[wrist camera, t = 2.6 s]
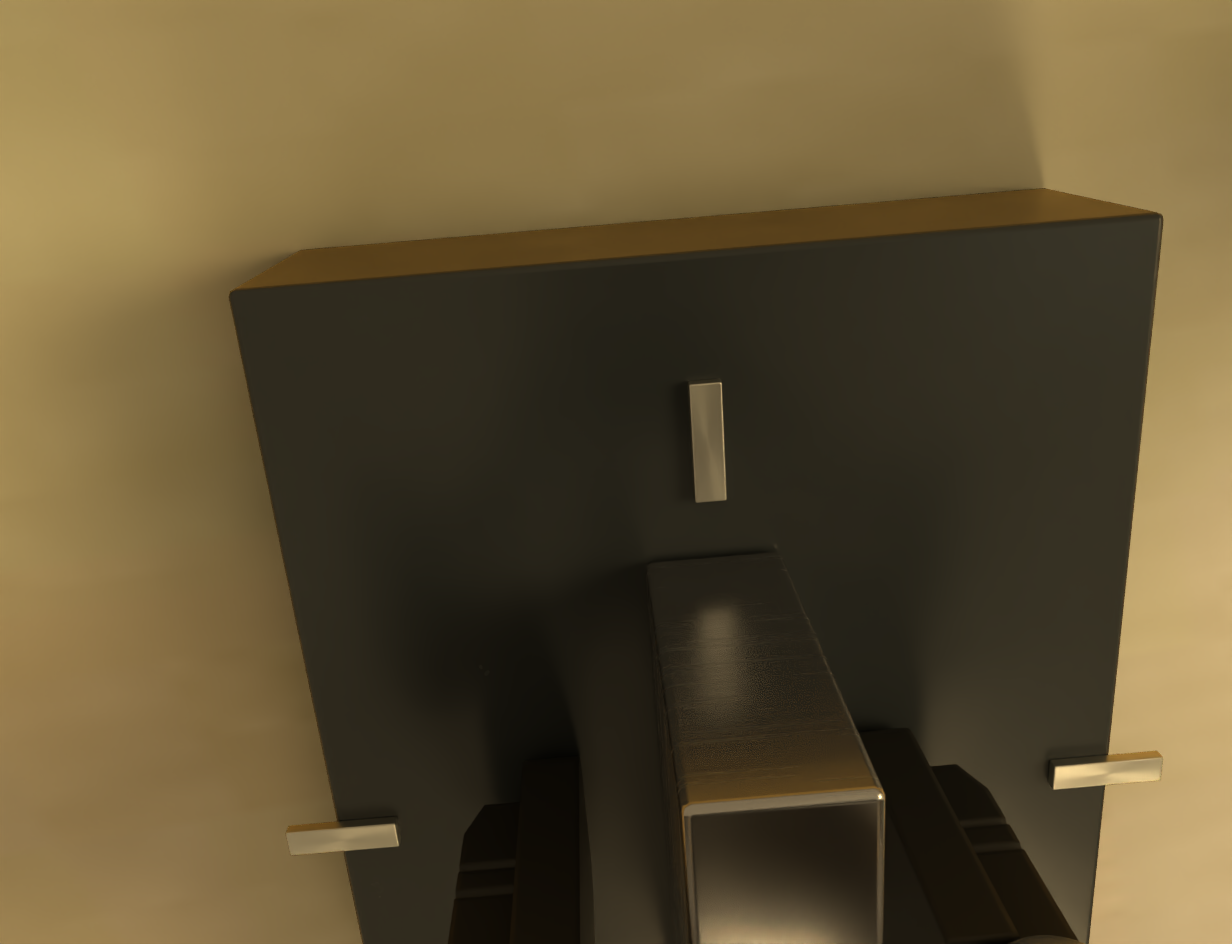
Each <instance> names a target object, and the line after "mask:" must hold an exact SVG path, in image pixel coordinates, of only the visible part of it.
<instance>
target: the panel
mask: <svg viewBox="0 0 1232 944" xmlns="http://www.w3.org/2000/svg"><path fill="white" fill-rule="evenodd" d="M1162 229H1163V216H1162V215H1161V214H1160V213H1157V212H1153V211H1148V210H1143V209H1139V208H1134V207H1129V206H1125V205H1120V204H1115V203H1111V202H1106V201H1101V200H1097V199H1092V198H1087V197H1083V196H1078V195H1073V194H1069V193H1064V192H1059V191H1055V190H1050V189H1045V188H1041V189H1029V190H1017V191H1005V192H993V193H981V194H969V195H957V196H945V197H933V198H921V199H909V200H897V201H885V202H873V203H861V204H849V205H837V206H825V207H812V208H800V209H788V210H776V211H764V212H752V213H740V214H728V215H716V216H704V217H692V218H680V219H668V220H656V221H644V222H632V223H620V224H608V225H596V226H584V227H571V228H559V229H547V230H535V231H523V232H511V233H499V234H487V235H475V236H463V237H451V238H439V239H427V240H415V241H403V242H391V243H379V244H367V245H355V246H343V247H330V248H318V249H306V250H300V251H298V252H297V253H295V254H293V255H291V256H290V257H288V258H286V259H285V260H283V261H281V262H279V263H278V264H276V265H274V266H273V267H271V268H269V269H268V270H266V271H264V272H262V273H261V274H259V275H257V276H256V277H254V278H252V279H250V280H249V281H247V282H245V283H244V284H242V285H240V286H238V287H237V288H235V289H233V290H232V291H230V294H229V301H230V306H231V310H232V315H233V320H234V325H235V330H236V335H237V339H238V344H239V349H240V354H241V359H242V364H243V368H244V373H245V378H246V383H247V388H248V392H249V397H250V402H251V407H252V412H253V417H254V421H255V426H256V431H257V436H258V441H259V446H260V450H261V455H262V460H263V465H264V470H265V475H266V479H267V484H268V489H269V494H270V499H271V504H272V508H273V513H274V518H275V523H276V528H277V533H278V537H279V542H280V547H281V552H282V557H283V562H284V566H285V571H286V576H287V581H288V586H289V590H290V595H291V600H292V605H293V610H294V615H295V619H296V624H297V629H298V634H299V639H300V644H301V648H302V653H303V658H304V663H305V668H306V673H307V677H308V682H309V687H310V692H311V697H312V702H313V706H314V711H315V716H316V721H317V726H318V731H319V735H320V740H321V745H322V750H323V755H324V760H325V764H326V769H327V774H328V779H329V784H330V788H331V793H332V798H333V803H334V808H335V813H336V817H337V822H326V823H314V824H302V825H291V826H288V828H287V831H286V838H287V842H288V846H289V851H290V855H291V856H293V855H304V854H316V853H327V852H339V851H344V856H345V861H346V866H347V871H348V875H349V880H350V885H351V890H352V895H353V900H354V904H355V909H356V914H357V919H358V924H359V929H360V933H361V938H362V943H363V944H448V938H449V932H450V925H451V918H452V911H453V905H454V899H456V894H455V891H456V884H457V877H458V872H459V864H460V857H461V850H462V844H463V837H464V833H465V832H466V830H467V829H468V828H469V826H470V825H471V823H472V822H473V821H474V819H475V818H476V816H477V815H478V813H479V812H480V811H481V809H482V808H483V806H484V805H490V804H502V803H513V802H520V795H521V782H522V769H523V762H524V761H527V760H539V759H550V758H562V757H573V756H580V761H581V768H582V777H583V787H584V796H585V806H586V815H587V825H588V834H589V844H590V854H591V865H592V878H593V895H594V928H595V944H673V932H672V919H671V905H670V892H669V878H668V865H667V851H666V838H665V824H664V811H663V797H662V784H661V770H660V757H659V744H658V730H657V717H656V703H655V690H654V676H653V663H652V649H651V636H650V622H649V609H648V595H647V582H646V568H647V566H648V564H650V563H653V562H664V561H676V560H687V559H699V558H711V557H723V556H734V555H746V554H758V553H770V552H775V553H779V554H780V555H781V557H782V559H783V561H784V563H785V565H786V568H787V570H788V572H789V575H790V577H791V579H792V581H793V584H794V586H795V588H796V591H797V593H798V595H799V597H800V600H801V602H802V604H803V607H804V609H805V611H806V613H807V616H808V618H809V620H810V623H811V625H812V627H813V629H814V632H815V634H816V636H817V639H818V641H819V643H820V645H821V648H822V650H823V652H824V655H825V657H826V659H827V662H828V664H829V666H830V668H831V671H832V673H833V675H834V678H835V680H836V682H837V684H838V687H839V689H840V691H841V694H842V696H843V698H844V700H845V703H846V705H847V707H848V710H849V712H850V714H851V716H852V719H853V721H854V723H855V726H856V728H857V730H858V732H864V731H876V730H887V729H898V728H909V729H910V730H911V731H912V733H913V734H914V736H915V738H916V740H917V742H918V744H919V746H920V748H921V750H922V751H923V753H924V755H925V757H926V759H927V761H928V763H929V765H930V766H940V765H951V764H957V765H958V766H960V767H961V768H962V769H964V770H965V771H966V772H967V773H969V774H970V775H971V776H973V777H974V778H975V779H977V780H978V781H979V782H980V783H982V784H983V785H984V786H986V787H987V788H988V789H989V791H990V792H991V794H992V796H993V797H994V799H995V801H996V802H997V804H998V806H999V808H1000V809H1001V811H1002V813H1003V814H1004V816H1005V818H1006V823H1007V824H1010V826H1011V828H1012V829H1013V831H1014V833H1015V835H1016V836H1017V838H1018V840H1019V841H1020V845H1021V849H1024V850H1025V851H1026V853H1027V855H1028V856H1029V858H1030V860H1031V861H1032V863H1033V865H1034V867H1035V868H1036V870H1037V872H1038V873H1039V875H1040V877H1041V878H1042V880H1043V882H1044V883H1045V885H1046V887H1047V888H1048V890H1049V892H1050V894H1051V895H1052V897H1053V899H1054V900H1055V902H1056V904H1057V905H1058V907H1059V909H1060V910H1061V912H1062V914H1063V915H1064V917H1065V919H1066V920H1067V922H1068V924H1069V926H1070V927H1071V929H1072V931H1073V932H1074V934H1075V936H1076V937H1077V939H1078V941H1080V942H1082V943H1085V944H1089V936H1090V926H1091V916H1092V906H1093V897H1094V887H1095V877H1096V868H1097V858H1098V848H1099V839H1100V829H1101V819H1102V810H1103V800H1104V790H1105V785H1113V784H1124V783H1136V782H1147V781H1159V780H1161V772H1162V764H1163V757H1162V756H1161V754H1160V753H1159V752H1158V751H1147V752H1136V753H1124V754H1113V755H1108V752H1109V742H1110V732H1111V723H1112V713H1113V703H1114V694H1115V684H1116V674H1117V665H1118V655H1119V645H1120V636H1121V626H1122V616H1123V607H1124V597H1125V587H1126V578H1127V568H1128V558H1129V549H1130V539H1131V529H1132V520H1133V510H1134V500H1135V491H1136V481H1137V471H1138V461H1139V452H1140V442H1141V432H1142V423H1143V413H1144V403H1145V394H1146V384H1147V374H1148V365H1149V355H1150V345H1151V336H1152V326H1153V316H1154V307H1155V297H1156V287H1157V278H1158V268H1159V258H1160V249H1161V239H1162Z"/></svg>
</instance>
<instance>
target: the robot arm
mask: <svg viewBox="0 0 1232 944" xmlns="http://www.w3.org/2000/svg"><path fill="white" fill-rule="evenodd" d="M858 733H859V735H860V737H861V739H862V742H863V744H864V746H865V749H866V751H867V753H868V755H869V758H870V760H871V762H872V765H873V767H874V769H875V771H876V774H877V776H878V778H879V781H880V783H881V785H882V787H883V790H884V792H885V794H886V802H885V867H884V931H883V944H1085V943H1082V942H1080V941H1078V939H1077V937H1076V936H1075V934H1074V932H1073V931H1072V929H1071V927H1070V926H1069V924H1068V922H1067V920H1066V919H1065V917H1064V915H1063V914H1062V912H1061V910H1060V909H1059V907H1058V905H1057V904H1056V902H1055V900H1054V899H1053V897H1052V895H1051V894H1050V892H1049V890H1048V888H1047V887H1046V885H1045V883H1044V882H1043V880H1042V878H1041V877H1040V875H1039V873H1038V872H1037V870H1036V868H1035V867H1034V865H1033V863H1032V861H1031V860H1030V858H1029V856H1028V855H1027V853H1026V851H1025V850H1024V849H1021V845H1020V841H1019V840H1018V838H1017V836H1016V835H1015V833H1014V831H1013V829H1012V828H1011V826H1010V824H1007V823H1006V818H1005V816H1004V814H1003V813H1002V811H1001V809H1000V808H999V806H998V804H997V802H996V801H995V799H994V797H993V796H992V794H991V792H990V791H989V789H988V788H987V787H986V786H984V785H983V784H982V783H980V782H979V781H978V780H977V779H975V778H974V777H973V776H971V775H970V774H969V773H967V772H966V771H965V770H964V769H962V768H961V767H960V766H958V765H957V764H951V765H940V766H930V765H929V763H928V761H927V759H926V757H925V755H924V753H923V751H922V750H921V748H920V746H919V744H918V742H917V740H916V738H915V736H914V734H913V733H912V731H911V730H910V729H909V728H898V729H887V730H876V731H864V732H858ZM455 894H456V899H454V905H453V911H452V918H451V925H450V932H449V938H448V944H595V928H594V895H593V878H592V865H591V854H590V844H589V834H588V825H587V815H586V806H585V796H584V787H583V777H582V768H581V761H580V756H573V757H562V758H550V759H539V760H527V761H524V762H523V769H522V782H521V795H520V802H513V803H502V804H490V805H484V806H483V808H482V809H481V811H480V812H479V813H478V815H477V816H476V818H475V819H474V821H473V822H472V823H471V825H470V826H469V828H468V829H467V830H466V832H465V833H464V837H463V844H462V850H461V857H460V864H459V872H458V877H457V884H456V891H455Z"/></svg>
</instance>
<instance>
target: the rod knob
mask: <svg viewBox="0 0 1232 944" xmlns="http://www.w3.org/2000/svg"><path fill="white" fill-rule="evenodd" d="M646 582H647V595H648V609H649V622H650V636H651V649H652V663H653V676H654V690H655V703H656V717H657V730H658V744H659V757H660V770H661V784H662V797H663V811H664V824H665V838H666V851H667V865H668V878H669V892H670V905H671V919H672V932H673V944H883V931H884V867H885V802H886V794H885V792H884V790H883V787H882V785H881V783H880V781H879V778H878V776H877V774H876V771H875V769H874V767H873V765H872V762H871V760H870V758H869V755H868V753H867V751H866V749H865V746H864V744H863V742H862V739H861V737H860V735H859V733H858V730H857V728H856V726H855V723H854V721H853V719H852V716H851V714H850V712H849V710H848V707H847V705H846V703H845V700H844V698H843V696H842V694H841V691H840V689H839V687H838V684H837V682H836V680H835V678H834V675H833V673H832V671H831V668H830V666H829V664H828V662H827V659H826V657H825V655H824V652H823V650H822V648H821V645H820V643H819V641H818V639H817V636H816V634H815V632H814V629H813V627H812V625H811V623H810V620H809V618H808V616H807V613H806V611H805V609H804V607H803V604H802V602H801V600H800V597H799V595H798V593H797V591H796V588H795V586H794V584H793V581H792V579H791V577H790V575H789V572H788V570H787V568H786V565H785V563H784V561H783V559H782V557H781V555H780V554H779V553H775V552H770V553H758V554H746V555H734V556H723V557H711V558H699V559H687V560H676V561H664V562H653V563H650V564H648V566H647V568H646Z"/></svg>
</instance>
